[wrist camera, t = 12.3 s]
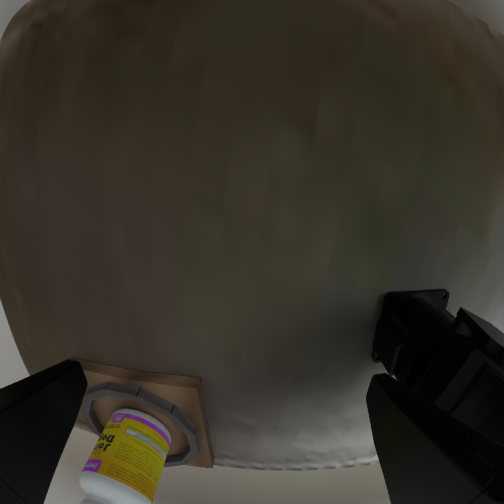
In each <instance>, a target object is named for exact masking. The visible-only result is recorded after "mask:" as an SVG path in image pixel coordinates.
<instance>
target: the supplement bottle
mask: <svg viewBox="0 0 504 504" xmlns="http://www.w3.org/2000/svg"><path fill="white" fill-rule="evenodd" d="M170 443H171V436H170V433H169V431H168V429H167V428H166V427H165V426H164V425H163V424H162V423H161V422H160V421H159V420H157V419H156V418H154V417H152V416H151V415H149V414H147V413H144V412H142V411H139V410H135V409H128V408H124V409H119V410H117V411H115V412H114V413H113V415H112V416H111V418H110V420H109V421H108V423H107V425H106V427H105V429H104V430H103V432H102V434H101V436H100V438H99V440H98V442H97V444H96V446H95V448H94V450H93V452H92V453H91V455H90V457H89V459H88V461H87V463H86V465H85V467H84V469H83V471H82V473H81V475H80V478H79V482H80V486H81V488H82V489H83V491H84V492H85V493H86V497H85V499H83V500H82V501H81V502H80V504H152V502H153V498H154V495H155V491H156V488H157V485H158V482H159V479H160V475H161V472H162V469H163V466H164V463H165V460H166V456H167V453H168V450H169V446H170Z"/></svg>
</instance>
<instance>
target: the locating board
mask: <svg viewBox="0 0 504 504" xmlns="http://www.w3.org/2000/svg"><path fill="white" fill-rule="evenodd" d="M71 360H75V361H78V362H80V364H81V366H82V368H83V371H84V373H85V376H86V378H87V382H88V385H87V389H86V392H85V395H84V398H83V401H82V405H83V408H82V412H83V414H84V416H85V418H86V420H87V422H88V423H89V425H90V427H91V429H92V430H93V431H94V432H95V433H96V434H97V435H98V436H99V437H100V436H101V434H102V432H103V430H104V429H105V427H106V425H107V423H108V421H109V420H110V418H111V416H112V415H113V413H114V412H115V411H117V410H119V409H124V408H128V409H135V410H139V411H142V412H144V413H147V414H149V415H151V416H152V417H154V418H156V419H157V420H159V421H160V422H161V423H162V424H163V425H164V426H165V427H166V428H167V429H168V431H169V433H170V436H171V443H170V446H169V450H168V453H167V456H166V460H165V463H164V466H163V467H169V466H177V465H190V466H197V467H206V468H213V463H214V455H213V450H212V445H211V440H210V434H209V429H208V423H207V418H206V412H205V406H204V399H203V393H202V386H201V380H200V377H190V376H179V375H170V374H161V373H153V372H146V371H139V370H133V369H126V368H120V367H115V366H109V365H104V364H99V363H94V362H89V361H85V360H80V359H76V358H71Z"/></svg>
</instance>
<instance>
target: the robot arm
mask: <svg viewBox="0 0 504 504" xmlns="http://www.w3.org/2000/svg"><path fill="white" fill-rule="evenodd" d="M444 294H445V295H444ZM443 295H444V296H443ZM391 297H392V300H391V301H389V299H390V298H391ZM448 298H449V292H448V291H447V290H446V289H438V290H423V291H406V292H390V293H387V294H386V295H385V297H384V302H383V307H382V312H381V317H380V319H379V320H378V323H377V328H376V332H375V337H374V341H373V347H374V349H373V353H372V359H373V361H374V362H375V363H378V362H382V363H383V365H384V367H385V368H386V370H387V372H388V374H387V373H382V374H375V375H373V377H372V379H371V382H370V385H369V388H368V392H367V395H366V402H367V408H368V413H369V418H370V424H371V429H372V435H373V440H374V444H375V448H376V451H377V455H378V458H379V462H380V465H381V468H382V472H383V475H384V479H385V483H386V486H387V490H388V494H389V498H390V501H391V504H504V333H502V332H501V331H500V330H499V329H497V328H496V327H495V326H493V325H492V324H491V323H489V322H487V321H485V320H484V319H482V318H480V317H478V316H476V315H475V314H473V313H471V312H469V311H467V310H465V309H464V308H462V307H460V309H459V310H458V312H457V317H456V318H455V317H454V316H453V315H452V314H450V313H449V312H448V311H447V310H446V306H447V302H448ZM377 356H379V357H377ZM376 357H377V358H376ZM392 375H394V376H395V377H396V379H397V380H396V379H395V378H393V377H392ZM87 385H88V382H87V378H86V376H85V373H84V371H83V368H82V366H81V364H80V362H78V361H75V360H71V359H68V360H65V361H63V362H61V363H59V364H56V365H54V366H52V367H50V368H47V369H45V370H43V371H41V372H38V373H36V374H34V375H31V376H29V377H27V378H24V379H23V380H20V381H18V382H15V383H13V384H11V385H8V386H6V387H4V388H1V389H0V504H44V501H45V498H46V495H47V492H48V489H49V486H50V483H51V480H52V478H53V475H54V473H55V470H56V467H57V465H58V462H59V460H60V457H61V455H62V452H63V450H64V447H65V445H66V443H67V440H68V438H69V435H70V433H71V431H72V429H73V426H74V424H75V422H76V419H77V416H78V413H79V410H80V407H81V404H82V401H83V398H84V395H85V392H86V389H87Z"/></svg>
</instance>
